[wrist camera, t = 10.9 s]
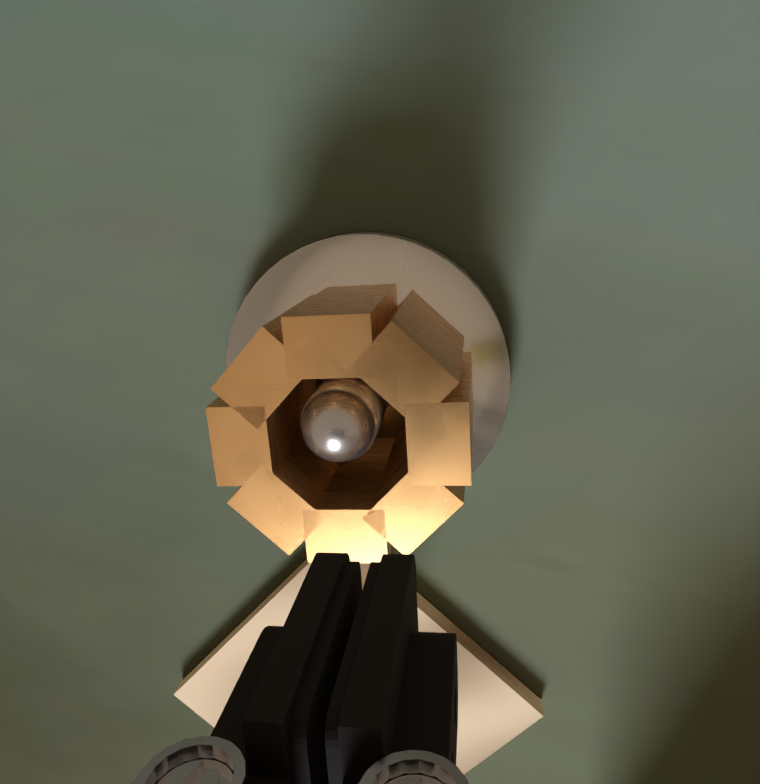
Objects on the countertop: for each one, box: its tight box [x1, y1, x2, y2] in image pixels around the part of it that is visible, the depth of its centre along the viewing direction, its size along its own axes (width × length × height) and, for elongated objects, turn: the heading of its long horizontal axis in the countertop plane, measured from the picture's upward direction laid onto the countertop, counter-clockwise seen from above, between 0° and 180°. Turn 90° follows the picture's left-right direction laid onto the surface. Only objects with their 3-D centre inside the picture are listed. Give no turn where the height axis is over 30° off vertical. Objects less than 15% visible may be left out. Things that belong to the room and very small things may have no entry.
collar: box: [206, 284, 473, 563], centre depth 18 cm, size 6×6×5 cm
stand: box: [174, 559, 543, 774], centre depth 22 cm, size 10×10×8 cm
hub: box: [226, 232, 511, 472], centre depth 19 cm, size 9×9×6 cm
